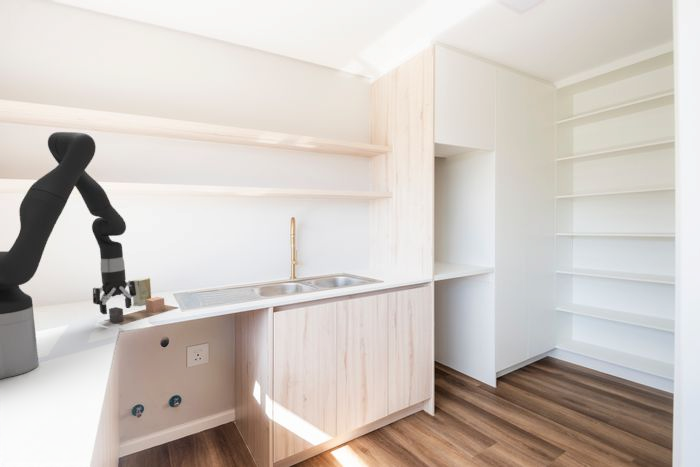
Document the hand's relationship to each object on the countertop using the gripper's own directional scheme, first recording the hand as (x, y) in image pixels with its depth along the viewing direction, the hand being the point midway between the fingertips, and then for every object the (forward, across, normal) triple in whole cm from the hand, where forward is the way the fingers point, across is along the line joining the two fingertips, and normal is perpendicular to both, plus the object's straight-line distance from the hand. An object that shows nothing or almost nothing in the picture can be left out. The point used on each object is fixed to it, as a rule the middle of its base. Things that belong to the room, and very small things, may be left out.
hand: (116, 310), depth 134 cm
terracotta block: (+4, +15, 0) cm, 16 cm away
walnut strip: (+5, +10, 0) cm, 11 cm away
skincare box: (+6, +19, +16) cm, 26 cm away
